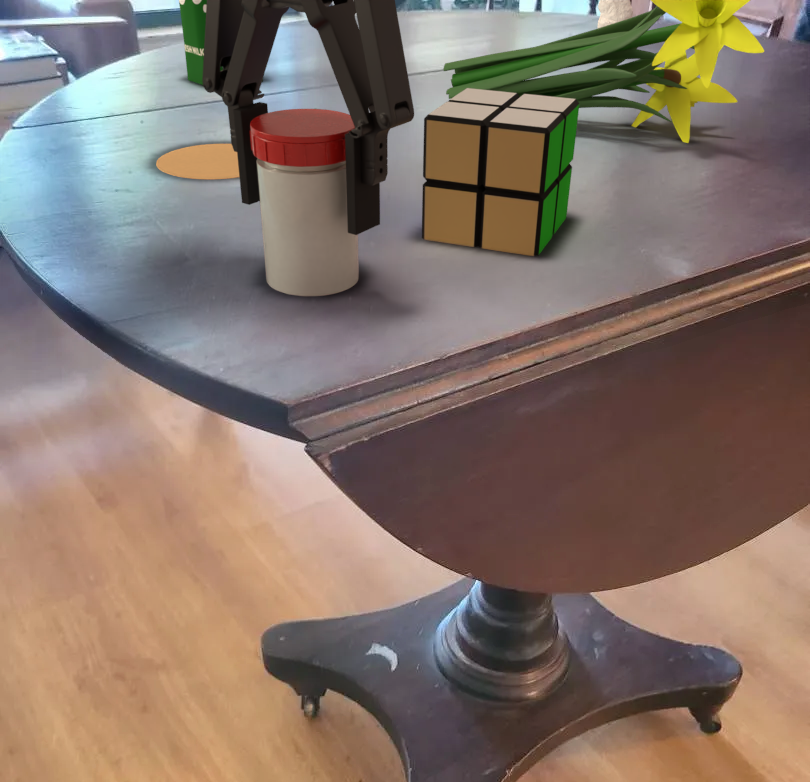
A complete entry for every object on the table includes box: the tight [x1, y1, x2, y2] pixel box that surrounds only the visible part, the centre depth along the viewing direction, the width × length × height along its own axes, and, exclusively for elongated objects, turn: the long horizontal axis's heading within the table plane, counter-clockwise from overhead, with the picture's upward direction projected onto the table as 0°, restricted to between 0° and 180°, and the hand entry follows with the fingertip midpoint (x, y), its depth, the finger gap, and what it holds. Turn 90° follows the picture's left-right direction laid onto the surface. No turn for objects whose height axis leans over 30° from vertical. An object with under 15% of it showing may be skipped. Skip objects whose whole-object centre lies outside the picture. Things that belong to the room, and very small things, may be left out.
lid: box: [250, 108, 355, 167], centre depth 65 cm, size 7×7×2 cm
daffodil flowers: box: [442, 0, 765, 144], centre depth 100 cm, size 17×15×35 cm
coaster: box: [155, 143, 240, 180], centre depth 94 cm, size 12×12×1 cm
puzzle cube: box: [421, 88, 580, 257], centre depth 77 cm, size 10×10×10 cm
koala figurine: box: [597, 0, 634, 29], centre depth 139 cm, size 8×7×12 cm
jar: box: [256, 158, 360, 297], centre depth 68 cm, size 7×7×11 cm
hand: (309, 213), depth 68 cm, fingers open, 9 cm apart
